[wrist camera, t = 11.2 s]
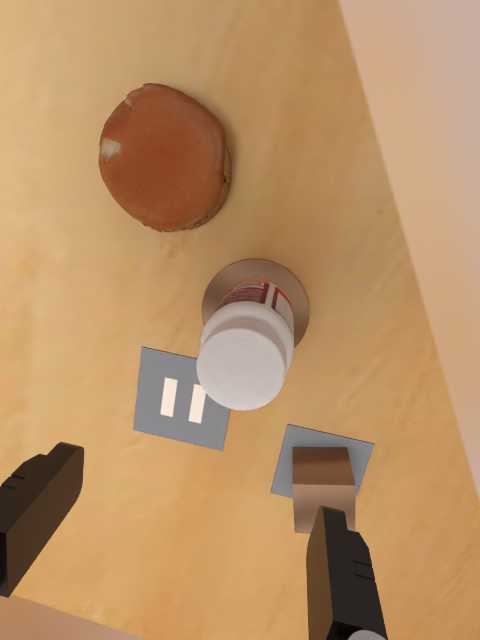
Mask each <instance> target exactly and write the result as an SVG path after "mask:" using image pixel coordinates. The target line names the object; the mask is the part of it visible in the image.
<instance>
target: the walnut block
mask: <svg viewBox="0 0 480 640" xmlns="http://www.w3.org/2000/svg"><path fill="white" fill-rule="evenodd" d="M292 487H293V506H294V525H295V533H311V532H312V528H313V525H314V522H315V519H316V515H317V512H318V509H319V507H320V506H321V505H322V506H327V507H331V508H335V509H339V510H343V511H344V512H345V516H346V522H347V528H348V530H351V531H355V482H354V477H353V472H352V468H351V463H350V458H349V454H348V449H347V447H292Z"/></svg>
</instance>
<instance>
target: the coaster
mask: <svg viewBox="0 0 480 640" xmlns="http://www.w3.org/2000/svg"><path fill="white" fill-rule="evenodd" d="M251 279H261V280H266V281H269V282H271V283H273V284H275V285H277V286H278V287H279V288H281V289H282V290H283V291H284V292H285V293H286V295H287V296H288V298H289V300H290V302H291V304H292V308H293V314H294V348H295V347H296V346H297V345H298V343H299V342H300V341H301V339H302V338H303V336H304V333H305V331H306V328H307V325H308V320H309V306H308V300H307V296H306V294H305V291H304V289H303V287H302V285H301V284H300V282H299V281H298V280H297V278H296V277H295V276H294V275H293V274H292V273H291V272H290V271H288V270H287V269H286V268H284V267H282V266H281V265H279V264H276V263H274V262H271V261H267V260H262V259H248V260H242V261H239V262H236V263H233V264H231V265H229V266H228V267H226V268H224V269H223V270H222V271H221V272H219V273H218V274H217V275H216V276H215V277H214V279H213V280H212V281H211V283H210V284H209V286H208V288H207V290H206V292H205V295H204V298H203V303H202V318H203V323H204V326H205V325H206V322H207V321H208V320H209V318H210V317H211V315H212V314H213V313H214V311H215V310H216V308H217V306H218V305H219V303H220V302H221V301H222V299H223V297H224V296H225V295H226V293H227V292H228V291H229V290H230V289H231V288H232V287H234V286H235V285H237V284H238V283H240V282H243V281H246V280H251Z"/></svg>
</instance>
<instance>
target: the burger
mask: <svg viewBox="0 0 480 640" xmlns="http://www.w3.org/2000/svg"><path fill="white" fill-rule="evenodd" d="M143 85H144V86H143V87H141V88H139V89H137V90H134V91H132V92H130V93H129V94H128V95H127V97H126V100H124V101H123V102H122V103H121V104H120V105H119V106H118V107H117V108H116V109H115V110H114V112H113V113H112V114H111V116H110V117H109V119H108V120H107V121H106V123H105V125H104V128H103V131H102V134H101V139H100V154H99V167H100V172H101V176H102V178H103V181H104V183H105V184H106V186H107V188H108V190H109V191H110V193H111V195H112V196H113V198H114V199H115V200H116V201H117V203H118V204H119V205H120V206H121V207H122V208H123V209H124V210H125V211H126V212H127V213H129V214H130V215H131V216H132V217H133V218H135V219H137V220H139V221H140V222H141V223H142V224H143V225H145V226H150V227H151V228H152V229H156V230H157V231H159V232H161V231H164V232H173V231H177V230H185V229H193V228H196V227H199V226H201V225H202V224H204V223H206V222H207V221H209V220H210V219H211V218H212V217H213V216H214V215H215V214H216V213H217V212H218V210H219V209H220V208H221V206H222V205H223V203H224V201H225V198H226V196H227V194H228V190H229V186H230V181H231V159H230V153H229V151H228V148H227V146H226V142H225V133H224V130H223V128H222V126H221V124H220V123H219V121H218V119H217V118H216V117H215V116H214V115H213V114H212V113H210V112H209V111H208V110H207V109H206V108H205V107H204V106H203V105H201V104H200V103H199V102H197V101H196V100H195V99H193V98H192V97H190V96H188V95H186V94H184V93H183V92H181V91H178V90H176V89H173V88H171V87H168V86H165V85H161V84H153V83H148V84H143Z"/></svg>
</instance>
